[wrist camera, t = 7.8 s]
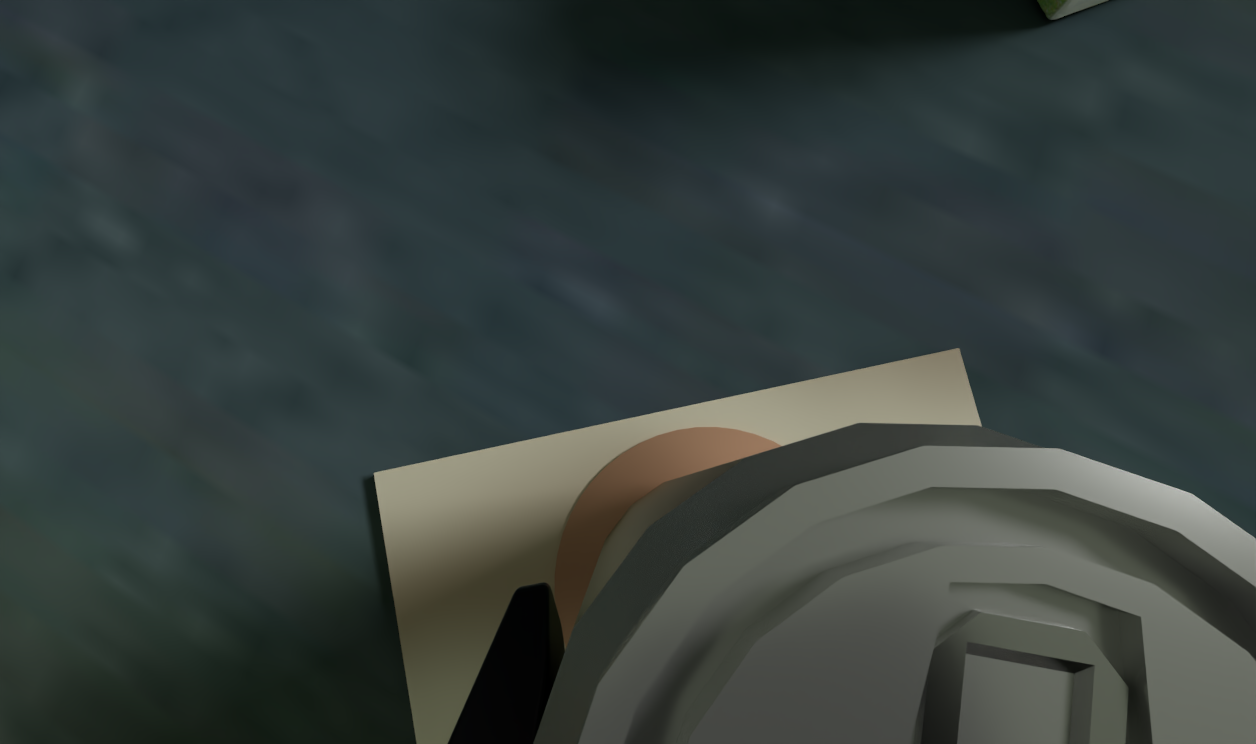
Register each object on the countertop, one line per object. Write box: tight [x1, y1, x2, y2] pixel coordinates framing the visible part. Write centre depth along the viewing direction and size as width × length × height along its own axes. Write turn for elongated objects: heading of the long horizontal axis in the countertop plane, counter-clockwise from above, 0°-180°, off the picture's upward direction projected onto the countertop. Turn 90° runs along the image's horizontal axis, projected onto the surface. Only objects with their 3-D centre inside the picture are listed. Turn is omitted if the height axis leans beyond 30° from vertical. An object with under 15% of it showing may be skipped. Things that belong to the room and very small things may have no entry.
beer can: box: [533, 423, 1256, 744], centre depth 10 cm, size 5×5×12 cm
